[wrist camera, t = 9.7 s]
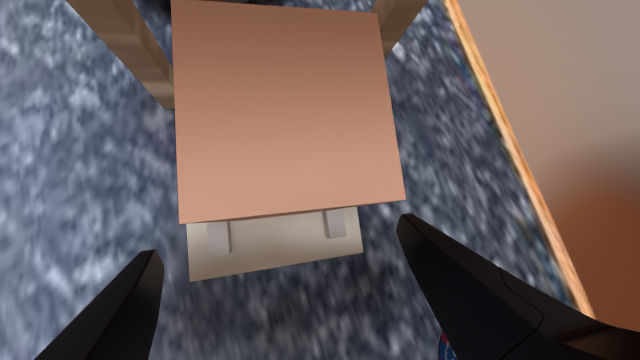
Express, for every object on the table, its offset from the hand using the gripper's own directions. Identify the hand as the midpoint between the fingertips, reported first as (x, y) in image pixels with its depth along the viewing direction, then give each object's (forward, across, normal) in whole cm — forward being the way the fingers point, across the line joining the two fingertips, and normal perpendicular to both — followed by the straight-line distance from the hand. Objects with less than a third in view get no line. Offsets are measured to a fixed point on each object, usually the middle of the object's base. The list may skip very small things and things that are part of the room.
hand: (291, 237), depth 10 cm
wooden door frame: (+9, 0, +4) cm, 10 cm away
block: (+9, 0, +4) cm, 9 cm away
